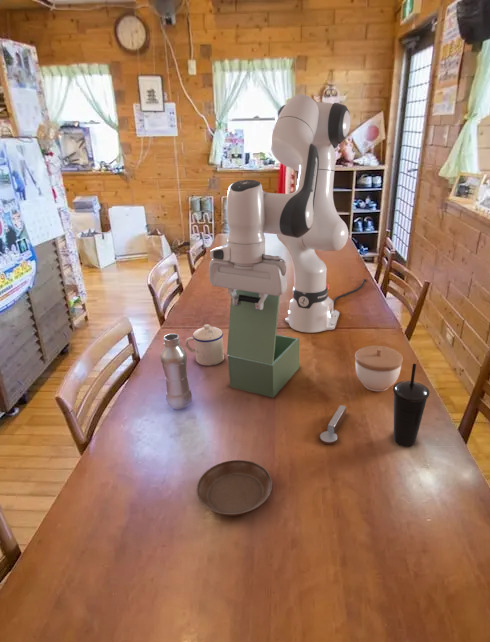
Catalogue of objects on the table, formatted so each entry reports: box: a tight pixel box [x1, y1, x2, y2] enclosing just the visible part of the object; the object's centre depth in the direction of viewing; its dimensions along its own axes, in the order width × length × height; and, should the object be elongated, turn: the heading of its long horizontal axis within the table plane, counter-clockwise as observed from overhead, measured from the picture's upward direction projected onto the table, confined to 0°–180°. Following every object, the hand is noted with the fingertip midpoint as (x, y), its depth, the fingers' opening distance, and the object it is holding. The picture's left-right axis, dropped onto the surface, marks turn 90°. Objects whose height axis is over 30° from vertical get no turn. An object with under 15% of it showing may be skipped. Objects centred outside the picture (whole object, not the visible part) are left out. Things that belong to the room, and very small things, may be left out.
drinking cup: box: [392, 363, 430, 448], centre depth 100 cm, size 8×8×20 cm
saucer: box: [196, 459, 273, 517], centre depth 90 cm, size 15×15×3 cm
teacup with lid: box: [184, 323, 225, 367], centre depth 139 cm, size 12×9×12 cm
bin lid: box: [226, 290, 281, 365], centre depth 116 cm, size 19×14×5 cm
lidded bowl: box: [354, 345, 404, 392], centre depth 124 cm, size 13×13×11 cm
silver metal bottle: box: [159, 333, 193, 410], centre depth 115 cm, size 6×7×20 cm
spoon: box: [319, 404, 347, 446], centre depth 108 cm, size 12×4×3 cm, turn 154°
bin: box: [227, 333, 300, 399], centre depth 129 cm, size 18×14×10 cm
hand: (247, 307), depth 114 cm, fingers closed on bin lid, 5 cm apart
